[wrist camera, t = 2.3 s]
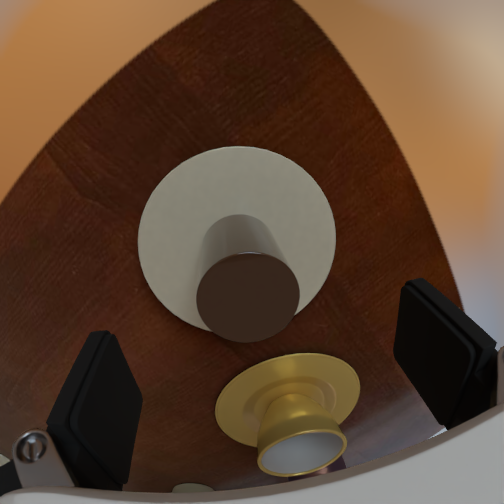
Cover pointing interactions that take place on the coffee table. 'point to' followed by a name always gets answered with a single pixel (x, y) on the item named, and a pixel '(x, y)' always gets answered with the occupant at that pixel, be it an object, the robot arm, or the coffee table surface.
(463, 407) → the robot arm
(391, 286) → the coffee table surface
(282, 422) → the cup
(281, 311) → the lid
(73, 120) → the coffee table surface
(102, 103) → the coffee table surface
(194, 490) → the mug
